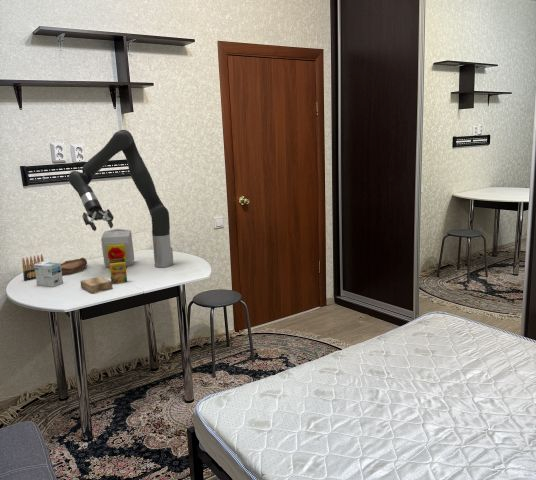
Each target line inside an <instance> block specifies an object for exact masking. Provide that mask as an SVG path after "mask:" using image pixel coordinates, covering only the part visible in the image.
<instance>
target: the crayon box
mask: <svg viewBox="0 0 536 480" xmlns="http://www.w3.org/2000/svg"><path fill="white" fill-rule="evenodd" d="M114 260H120V261H118V262H116V261H115V262H114ZM109 273H110V281H112V285H113V284H119V283H120V284H121V283H126V282H127V283H128V276H127V275H128V274H127V266H126V263H125V258H120V259H111V260H110V267H109Z"/></svg>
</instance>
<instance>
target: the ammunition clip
mask: <svg viewBox="0 0 536 480" xmlns="http://www.w3.org/2000/svg"><path fill="white" fill-rule="evenodd" d="M21 260H22V261H21V262H22V273H23V276H22V277H23V281H25V282H28V281H32V280H36V275H35V268H34V264H37V263H40V262H43V261H45V260H44V256H43V254H40V256H39V254H37V255H36V256H35V255H33V257H32V256H31V255H30V257H28V256H26V259H25V257H22V259H21Z"/></svg>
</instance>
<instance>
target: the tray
mask: <svg viewBox="0 0 536 480" xmlns="http://www.w3.org/2000/svg"><path fill="white" fill-rule="evenodd" d="M79 282H80V288H81V289H83V290H84V291H85V292H88V293H90V294H91V295H92V294H96V293H100V292H104V291H108V290H112V289H113V284H112V281H111V279H107V278H104V277H102V276H100V275H99V276H97V277H92V278H87V279H83V280H80V281H79Z"/></svg>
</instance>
